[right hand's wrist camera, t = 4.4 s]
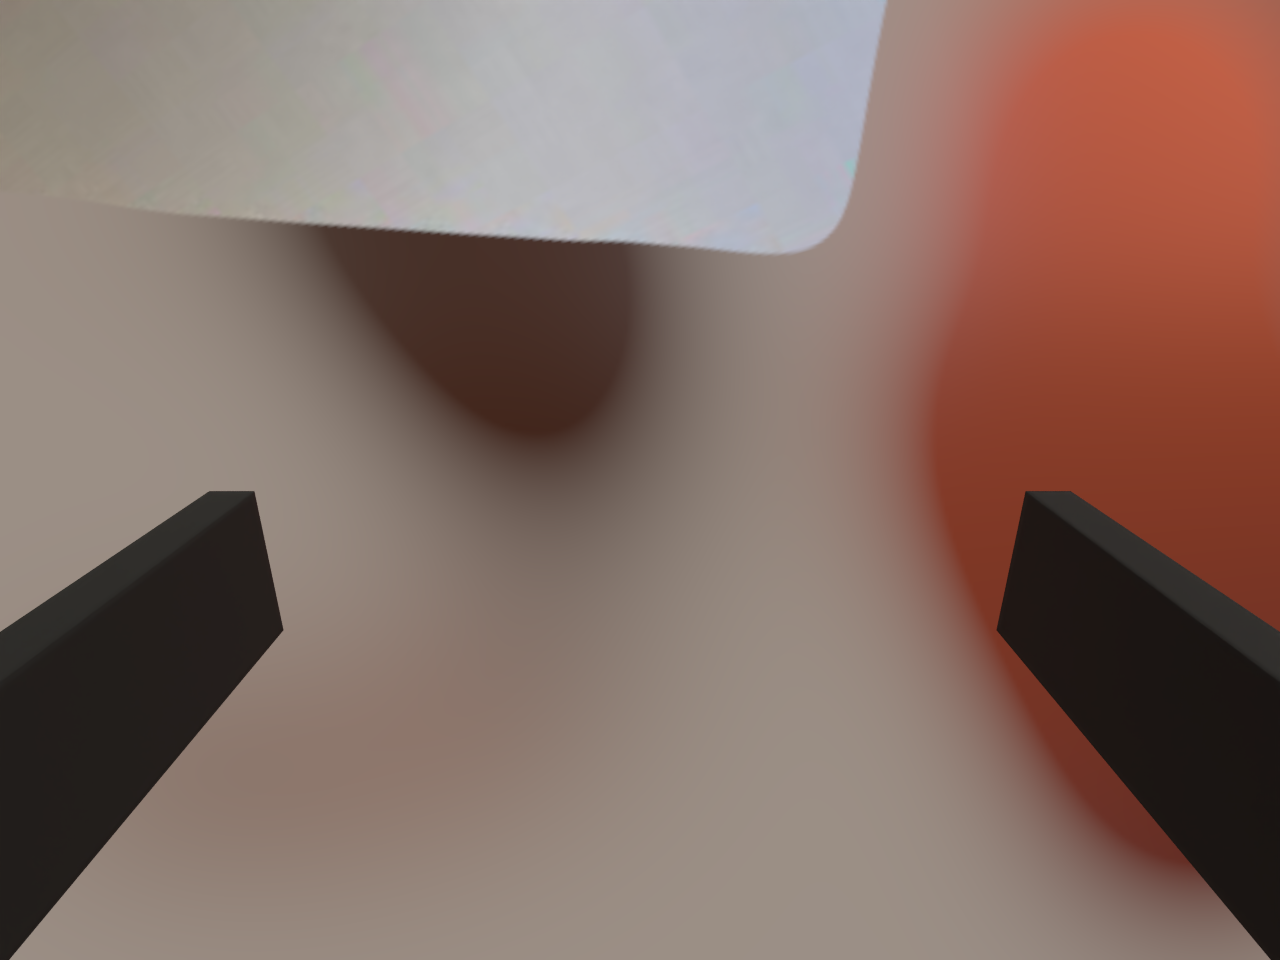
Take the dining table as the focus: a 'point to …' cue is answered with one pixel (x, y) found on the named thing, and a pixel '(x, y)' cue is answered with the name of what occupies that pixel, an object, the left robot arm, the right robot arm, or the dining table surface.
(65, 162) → the dining table surface
